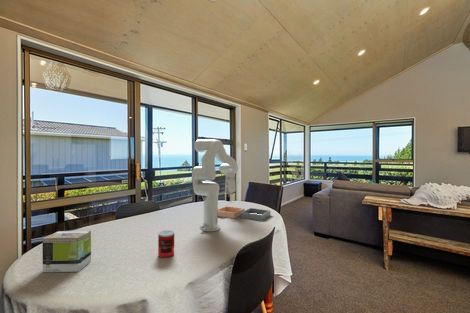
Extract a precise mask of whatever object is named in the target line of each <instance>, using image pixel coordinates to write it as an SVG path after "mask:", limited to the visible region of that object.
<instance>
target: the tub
mask: <svg viewBox="0 0 470 313" xmlns="http://www.w3.org/2000/svg"><path fill="white" fill-rule="evenodd" d="M245 210H246V209H245V208H242V207H237V206H235V207H234V206H230V205H229V206H228V205H225V206H222V207H218V218H222V217H225V218H224V219H227V218H228V219H236V218H238V217H240V214H241V212H243V211H245Z"/></svg>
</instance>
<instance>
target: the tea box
mask: <svg viewBox="0 0 470 313" xmlns="http://www.w3.org/2000/svg"><path fill="white" fill-rule="evenodd" d="M91 262H92V231H91V230H63V231H62V230H58V231H56V232H54V233H52V234H50V235H47V236H45V237H43V238H42V273H68V272H69V273H70V272H72V273H73V272H80V271H81V270H83V269H84V268H85V267H86V266H87V265H89V264H90V263H91Z"/></svg>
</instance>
